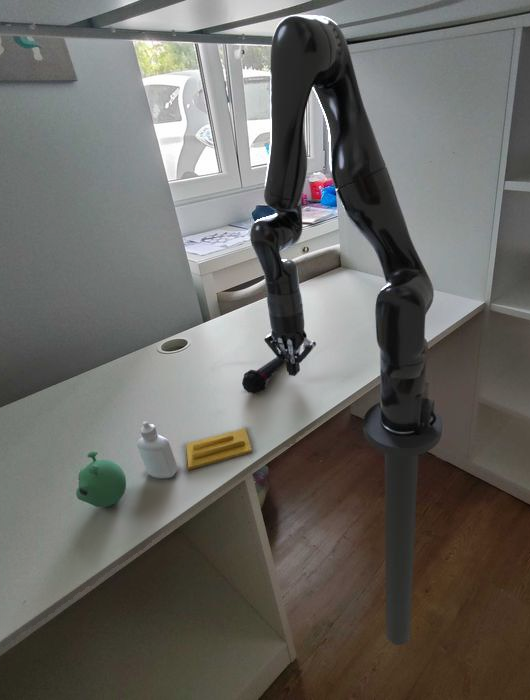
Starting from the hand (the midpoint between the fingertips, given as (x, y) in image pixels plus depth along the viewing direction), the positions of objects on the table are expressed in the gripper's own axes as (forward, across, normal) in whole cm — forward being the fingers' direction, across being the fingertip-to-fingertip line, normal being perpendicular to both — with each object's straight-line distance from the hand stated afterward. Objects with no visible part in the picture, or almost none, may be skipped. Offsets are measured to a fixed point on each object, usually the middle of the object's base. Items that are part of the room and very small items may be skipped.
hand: (293, 373), depth 106 cm
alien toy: (+2, -12, -44) cm, 46 cm away
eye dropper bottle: (+2, -8, -35) cm, 36 cm away
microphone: (+2, -6, 0) cm, 7 cm away
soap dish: (+2, -2, -26) cm, 26 cm away
